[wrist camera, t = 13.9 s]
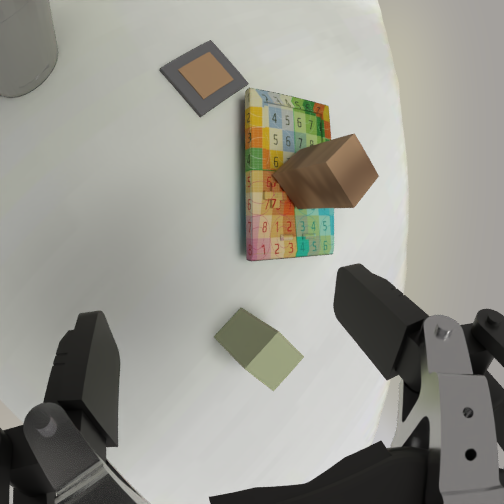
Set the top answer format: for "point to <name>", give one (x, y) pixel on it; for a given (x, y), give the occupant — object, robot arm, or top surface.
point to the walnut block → (328, 174)
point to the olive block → (259, 348)
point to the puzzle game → (267, 187)
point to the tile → (204, 77)
